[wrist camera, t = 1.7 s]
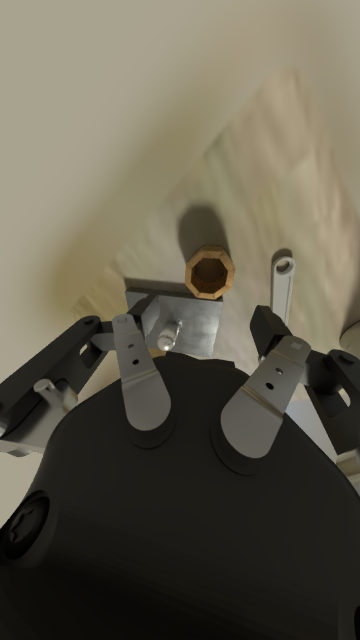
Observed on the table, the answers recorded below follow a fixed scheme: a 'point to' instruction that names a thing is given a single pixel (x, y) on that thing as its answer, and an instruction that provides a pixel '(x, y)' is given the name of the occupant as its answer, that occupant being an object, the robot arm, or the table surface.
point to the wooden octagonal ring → (209, 288)
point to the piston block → (181, 321)
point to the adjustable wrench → (282, 289)
